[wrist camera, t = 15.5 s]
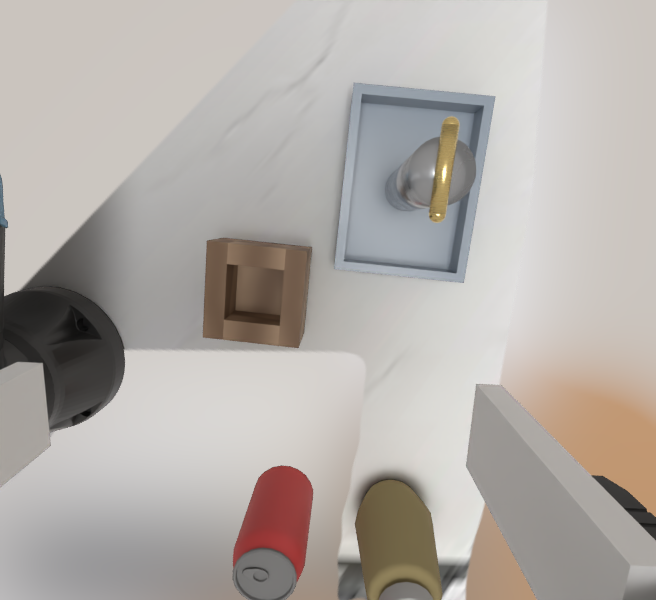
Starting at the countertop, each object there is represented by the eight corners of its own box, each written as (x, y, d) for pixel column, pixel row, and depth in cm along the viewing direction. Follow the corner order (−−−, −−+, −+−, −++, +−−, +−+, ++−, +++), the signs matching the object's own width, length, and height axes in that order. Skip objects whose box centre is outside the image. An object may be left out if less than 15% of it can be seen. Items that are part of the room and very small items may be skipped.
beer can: (262, 456, 47) (233, 537, 35) (319, 470, 47) (310, 555, 35) (251, 506, 48) (219, 601, 36) (306, 520, 48) (293, 618, 36)
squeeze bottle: (369, 541, 48) (382, 729, 30) (343, 482, 47) (341, 643, 29) (436, 520, 47) (489, 701, 30) (411, 459, 46) (452, 611, 28)
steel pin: (381, 219, 40) (403, 219, 24) (389, 154, 39) (418, 110, 23) (422, 223, 40) (471, 226, 24) (432, 158, 39) (489, 117, 23)
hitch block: (218, 323, 44) (202, 337, 39) (223, 237, 42) (206, 240, 37) (303, 333, 44) (298, 347, 39) (311, 247, 42) (307, 251, 37)
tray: (335, 264, 42) (334, 268, 39) (353, 94, 39) (353, 82, 35) (454, 277, 42) (463, 282, 38) (482, 107, 39) (495, 96, 35)
